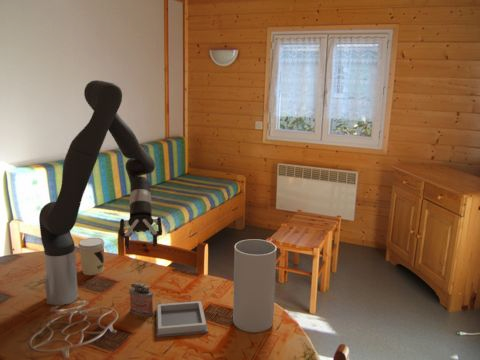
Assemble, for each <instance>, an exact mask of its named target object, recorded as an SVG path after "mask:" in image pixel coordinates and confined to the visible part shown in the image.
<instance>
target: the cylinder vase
mask: <svg viewBox="0 0 480 360" xmlns="http://www.w3.org/2000/svg"><path fill="white" fill-rule="evenodd" d="M233 248H234V254H233V256H234V257H233V263H234V264H233V296H232V297H233V302H232V304H233V305H232V306H233V308H232V321H233V325H234V326H235V327H236V328H237V329H239V330H241V331H244V332H247V333H261V332H262V333H263V332H265V331H267V330H269V329H270V328H271V327H272V325H273V323H274V314H275V313H274V312H275V296H276V295H275V291H276V290H275V289H276V272H277V271H276V269H277V268H276V267H277V246H276V244H274V243H273V242H272V241H268V240H265V239H257V238H256V239H255V238H254V239H252V238H250V239H243V240H239V241H238V242H236V243H235V244H234V247H233Z"/></svg>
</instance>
